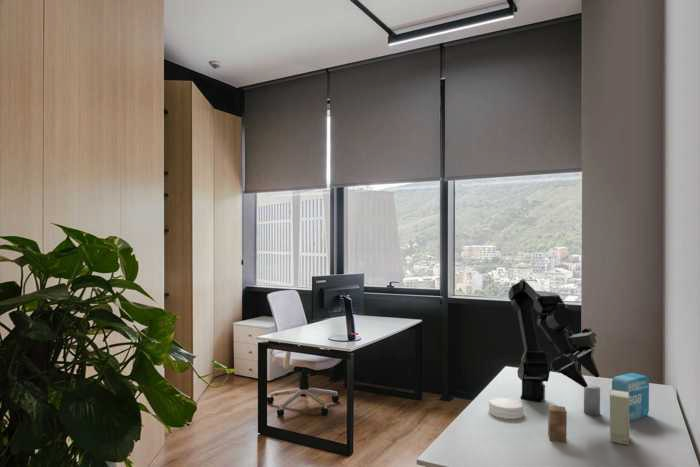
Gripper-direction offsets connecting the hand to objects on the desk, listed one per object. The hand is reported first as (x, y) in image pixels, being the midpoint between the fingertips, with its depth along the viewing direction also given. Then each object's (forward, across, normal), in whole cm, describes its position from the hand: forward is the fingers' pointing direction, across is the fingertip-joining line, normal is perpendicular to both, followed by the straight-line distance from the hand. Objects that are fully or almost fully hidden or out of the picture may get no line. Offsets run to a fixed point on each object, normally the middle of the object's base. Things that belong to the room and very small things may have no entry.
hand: (592, 381), depth 133 cm
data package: (+15, +15, +5) cm, 22 cm away
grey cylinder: (+9, +9, +11) cm, 17 cm away
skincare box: (+15, -6, +1) cm, 16 cm away
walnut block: (+7, -18, +9) cm, 21 cm away
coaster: (-3, -11, +24) cm, 27 cm away
